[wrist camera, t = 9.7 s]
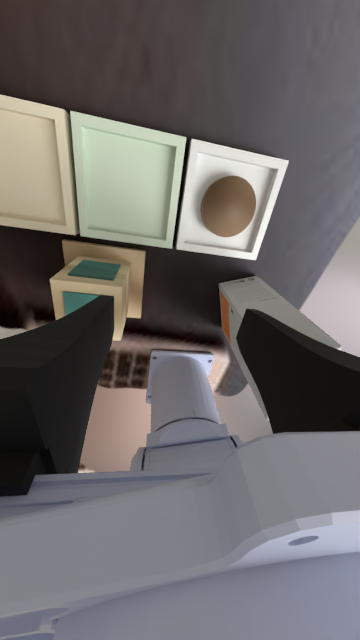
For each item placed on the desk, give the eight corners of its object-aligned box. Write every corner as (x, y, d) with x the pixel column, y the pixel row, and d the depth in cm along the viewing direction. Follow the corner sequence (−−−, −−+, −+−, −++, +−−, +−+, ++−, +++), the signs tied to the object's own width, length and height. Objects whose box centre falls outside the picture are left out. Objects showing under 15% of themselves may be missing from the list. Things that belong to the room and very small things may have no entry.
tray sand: (79, 233, 18) (75, 235, 17) (-21, 219, 17) (-32, 220, 16) (70, 115, 14) (63, 109, 13) (-60, 85, 13) (-79, 76, 12)
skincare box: (216, 282, 22) (271, 359, 11) (256, 274, 22) (347, 344, 11) (220, 329, 25) (266, 423, 15) (255, 322, 25) (325, 411, 15)
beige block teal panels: (129, 306, 21) (120, 341, 16) (82, 301, 21) (57, 337, 15) (131, 261, 19) (121, 286, 14) (78, 254, 18) (48, 277, 13)
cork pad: (141, 315, 23) (140, 318, 22) (72, 309, 22) (70, 312, 21) (145, 250, 19) (145, 251, 19) (64, 239, 18) (61, 240, 18)
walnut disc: (242, 238, 19) (246, 240, 18) (196, 231, 18) (198, 233, 18) (258, 182, 17) (263, 181, 16) (206, 171, 16) (209, 170, 15)
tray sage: (171, 245, 19) (171, 248, 18) (84, 233, 18) (80, 236, 17) (184, 141, 16) (186, 137, 15) (76, 116, 14) (70, 110, 13)
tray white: (250, 257, 21) (255, 260, 20) (175, 246, 19) (176, 249, 18) (280, 163, 17) (288, 160, 16) (189, 142, 16) (191, 138, 15)
